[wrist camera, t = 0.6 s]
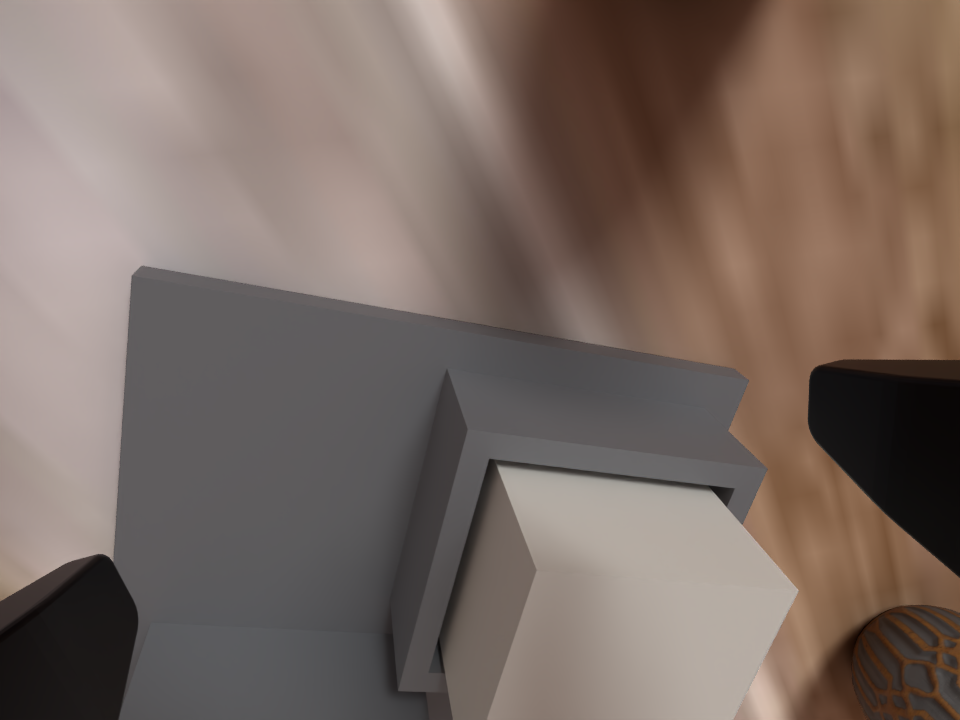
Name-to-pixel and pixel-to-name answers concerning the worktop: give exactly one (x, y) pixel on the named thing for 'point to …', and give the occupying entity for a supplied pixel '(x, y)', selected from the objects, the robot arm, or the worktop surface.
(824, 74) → the worktop surface
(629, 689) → the cream block with holes
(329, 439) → the board
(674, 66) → the worktop surface
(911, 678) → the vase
